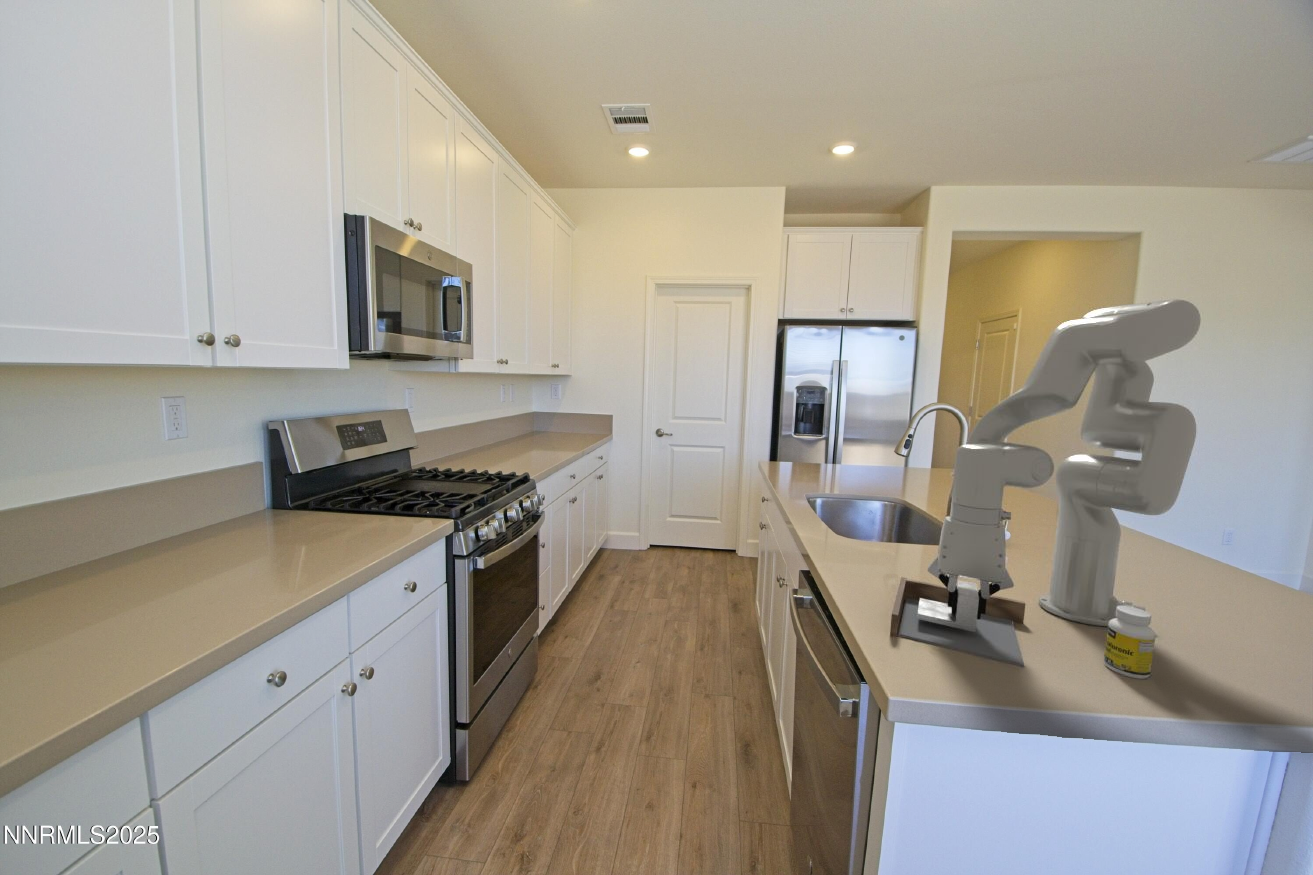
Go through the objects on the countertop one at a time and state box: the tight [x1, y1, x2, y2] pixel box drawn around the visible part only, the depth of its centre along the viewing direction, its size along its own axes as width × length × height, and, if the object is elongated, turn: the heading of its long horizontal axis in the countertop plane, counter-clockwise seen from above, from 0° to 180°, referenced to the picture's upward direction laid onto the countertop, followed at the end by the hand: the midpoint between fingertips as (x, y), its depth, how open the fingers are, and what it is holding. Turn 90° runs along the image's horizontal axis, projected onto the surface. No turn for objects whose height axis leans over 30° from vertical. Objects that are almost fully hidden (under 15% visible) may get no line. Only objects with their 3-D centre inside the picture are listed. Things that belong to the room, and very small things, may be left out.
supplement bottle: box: [1103, 606, 1156, 680], centre depth 79 cm, size 5×5×10 cm
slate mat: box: [898, 598, 1025, 667], centre depth 92 cm, size 18×18×1 cm
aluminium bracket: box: [917, 579, 979, 632], centre depth 92 cm, size 8×9×6 cm
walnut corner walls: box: [889, 576, 1026, 638], centre depth 92 cm, size 21×21×4 cm
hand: (965, 612), depth 91 cm, fingers closed on aluminium bracket, 3 cm apart
